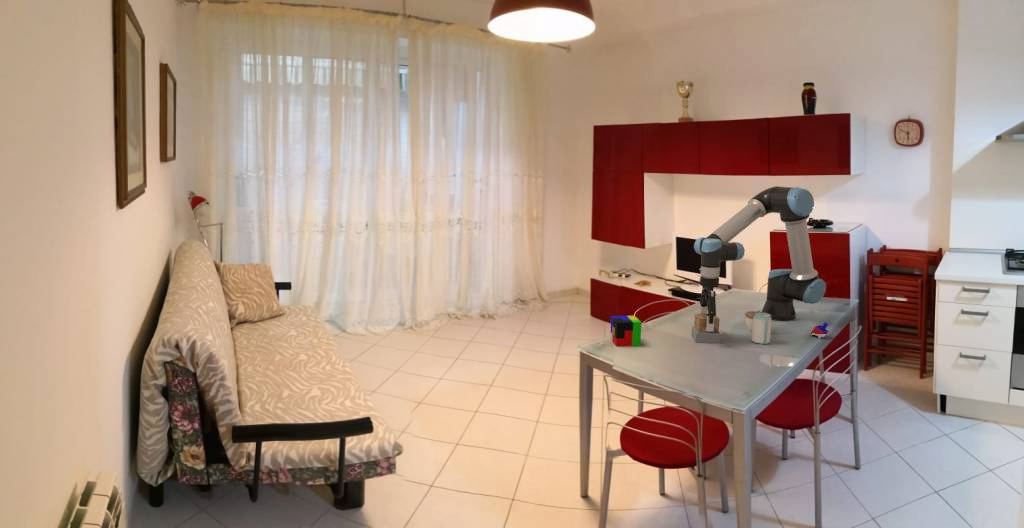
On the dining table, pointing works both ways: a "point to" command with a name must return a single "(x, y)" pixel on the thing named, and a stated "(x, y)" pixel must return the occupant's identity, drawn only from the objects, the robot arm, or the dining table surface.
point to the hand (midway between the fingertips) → (706, 326)
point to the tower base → (705, 337)
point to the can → (761, 328)
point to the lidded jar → (750, 319)
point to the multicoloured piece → (820, 329)
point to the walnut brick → (705, 323)
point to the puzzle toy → (625, 331)
